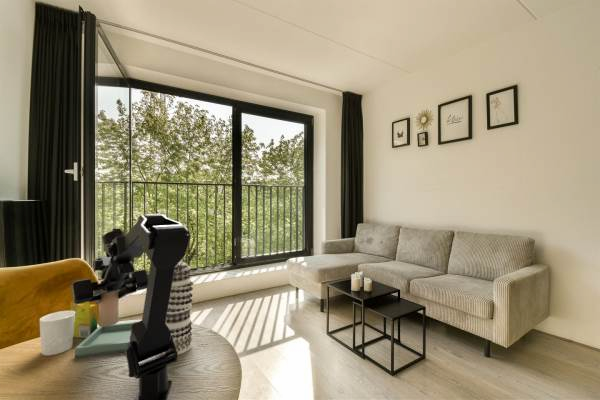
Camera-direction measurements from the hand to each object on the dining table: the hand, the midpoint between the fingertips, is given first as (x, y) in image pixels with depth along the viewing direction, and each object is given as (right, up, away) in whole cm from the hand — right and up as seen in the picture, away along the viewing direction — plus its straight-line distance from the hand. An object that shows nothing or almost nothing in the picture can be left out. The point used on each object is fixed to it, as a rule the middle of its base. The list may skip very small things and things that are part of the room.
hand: (107, 300), depth 84 cm
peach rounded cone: (+1, -7, -1) cm, 7 cm away
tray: (+3, -13, 0) cm, 13 cm away
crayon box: (-11, -13, +4) cm, 18 cm away
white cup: (-12, -13, -4) cm, 18 cm away
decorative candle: (+23, -13, -4) cm, 27 cm away
